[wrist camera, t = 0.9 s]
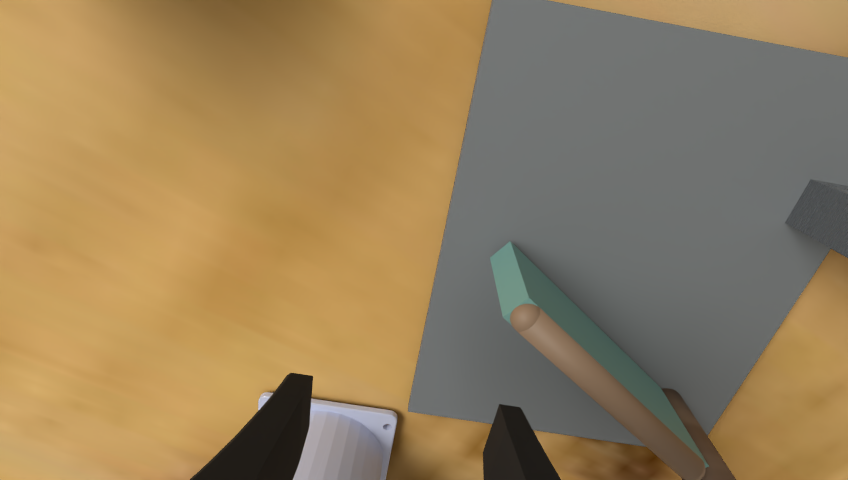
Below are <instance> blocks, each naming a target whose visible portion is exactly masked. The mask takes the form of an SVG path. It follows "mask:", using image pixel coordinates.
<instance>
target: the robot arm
mask: <svg viewBox="0 0 848 480" xmlns="http://www.w3.org/2000/svg"><path fill="white" fill-rule="evenodd" d="M312 381H313V376H309V375H303V374H296V373H290V374H289V375H287V376H286V378H285V379H284V380H283V382H282V383H281V384H280V386H279V387H278V388H277V389H276V391H275V392H274V393H271V392H265V393H263V394H262V395H261V396H260V398H259V401H258V412H257V413H256V414H255V415H254V416H253V418H252V419H251V420H250V421H249V422H248V423H247V424H246V425H245V426H244V427H243V428H242V430H241V431H240V432H239V433H238V434H237V435H236V436H235V437H234V438H233V439H232V440H231V441H230V442H229V443H228V444H227V445H226V446H225V447H224V448H223V449H222V450H221V451H220V452H219V453H218V454H217V455H216V456H215V457H214V458H213V459H212V460H211V461H210V462H209V463H208V464H206V465H205V466H204V467H203V468H202V469H201V470H200V471H199V472H198V473H197V474H196V475H194V476H193V477H192V478H191V479H190V480H386V475H387V470H388V465H389V460H390V455H391V450H392V445H393V440H394V435H395V429H396V424H397V414H396V413H395V412H394V411H391V410H385V409H379V408H372V407H365V406H358V405H352V404H345V403H338V402H331V401H325V400H318V399H311V396H312ZM386 424H389V425H386ZM483 469H484V480H561V479H560V477H559V476H558V474H557V472H556V471H555V469H554V467H553V466H552V464H551V462H550V460H549V459H548V457H547V455H546V453H545V452H544V450H543V448H542V446H541V444H540V443H539V441H538V439H537V437H536V435H535V433H534V431H533V430H532V428H531V426H530V424H529V422H528V420H527V418H526V416H525V414H524V412H523V410H522V409H521V408H520V407H516V406H509V405H502V404H499V406H498V409H497V412H496V415H495V418H494V421H493V424H492V427H491V430H490V433H489V436H488V439H487V442H486V445H485V448H484V451H483Z"/></svg>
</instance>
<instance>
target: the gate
mask: <svg viewBox="0 0 848 480" xmlns="http://www.w3.org/2000/svg"><path fill="white" fill-rule="evenodd" d="M490 260H491V265H492V270H493V274H494V279H495V283H496V288H497V293H498V297H499V302H500V306H501V311H502V316H503V318H504V319H505V320H506V321H508V322H509V323H510V324H511V325H512V327H513V328H514V329H515V330H516V331H517V332H518V333H519V334H520V335H522V336H523V337H524V338H525V339H526V340H527V341H528V342H529V343H531V344H532V345H533V346H534V347H535V348H536V349H537V350H538V351H540V352H541V353H542V354H543V355H544V356H545V357H546V358H547V359H549V360H550V361H551V362H552V363H553V364H554V365H555V366H556V367H558V368H559V369H560V370H561V371H562V372H563V373H564V374H565V375H567V376H568V377H569V378H570V379H571V380H572V381H573V382H574V383H576V384H577V385H578V386H579V387H580V388H581V389H582V390H583V391H585V392H586V393H587V394H588V395H589V396H590V397H591V398H592V399H594V400H595V401H596V402H597V403H598V404H599V405H600V406H601V407H603V408H604V409H605V410H606V411H607V412H608V413H609V414H610V415H612V416H613V417H614V418H615V419H616V420H617V421H618V422H619V423H621V424H622V425H623V426H624V427H625V428H626V429H627V430H628V431H629V432H631V433H632V434H633V435H634V436H635V437H636V438H637V439H638V440H640V441H641V442H642V443H643V444H644V445H645V446H646V447H647V448H649V449H650V450H651V451H652V452H653V453H654V454H655V455H656V456H658V457H659V458H660V459H661V460H662V461H663V462H664V463H665V464H667V465H668V466H669V467H670V468H671V469H672V470H673V471H674V472H676V473H677V474H678V475H679V476H680V477H681V478H683V479H685V480H701V479H702V478H703V477H704V475H705V471H706V468H707V467H709V465H708V464H707V462H706V460H705V459H704V457H703V455H702V454H701V452H700V451H699V449H698V447H697V446H696V444H695V442H694V441H693V439H692V438H691V436H690V434H689V433H688V431H687V429H686V428H685V426H684V425H683V423H682V421H681V420H680V418H679V416H678V415H677V413H676V412H675V410H674V408H673V407H672V405H671V404H670V402H669V400H668V399H667V397H666V395H665V394H664V392H663V391H662V389H661V388H660V387H659V386H658V385H657V384H656V383H655V382H654V381H653V380H652V379H651V378H650V377H649V376H648V375H647V374H646V373H645V372H644V371H643V370H642V369H641V368H640V367H639V366H638V365H637V364H636V363H635V362H634V361H633V360H632V359H631V358H630V357H629V356H628V355H627V354H626V353H625V352H624V351H623V350H621V349H620V348H619V347H618V346H617V345H616V344H615V343H614V342H613V341H612V340H611V339H610V338H609V337H608V336H607V335H606V334H605V333H604V332H603V331H602V330H601V329H600V328H599V327H598V326H597V325H596V324H595V323H594V322H593V321H592V320H591V319H590V318H589V317H588V316H587V315H586V314H585V313H584V312H583V311H581V310H580V309H579V308H578V307H577V306H576V305H575V304H574V303H573V302H572V301H571V300H570V299H569V298H568V297H567V296H566V295H565V294H564V293H563V292H562V291H561V290H560V289H559V288H558V287H557V286H556V285H555V284H554V283H553V282H552V281H551V280H550V279H549V278H548V277H547V276H546V275H545V274H544V273H542V272H541V271H540V270H539V269H538V268H537V267H536V266H535V265H534V264H533V263H532V262H531V261H530V260H529V259H528V258H527V257H526V256H525V255H524V254H523V253H522V252H521V251H520V250H519V249H518V248H517V247H516V246H515V245H514V244H513V243H512V242H511V241H510V242H508V243H507V244H506V245H505V246H504V247H502V248H501V249H500V250H499V251H498V252H496V253H495V254H494V255H493V256H491V257H490Z"/></svg>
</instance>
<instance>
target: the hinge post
mask: <svg viewBox="0 0 848 480" xmlns="http://www.w3.org/2000/svg"><path fill="white" fill-rule="evenodd" d="M662 391H663V392H664V394H665V395H666V397H667V399H668V400H669V402H670V404H671V405H672V407H673V408H674V410H675V412H676V413H677V415H678V416H679V418H680V420H681V421H682V423H683V425H684V426H685V428H686V429H687V431H688V433H689V434H690V436H691V438H692V439H693V441H694V442H695V444H696V446H697V447H698V449H699V451H700V452H701V454H702V455H703V457H704V459H705V460H706V462H707V464H708V465H709V467H707V468H706V471H705V475H704V477H703V478H702V479H701V480H736V479H735V477H734V476H733V474H732V473H731V471H730V470H729V468H728V467H727V465H726V464H725V462H724V461H723V459H722V458H721V456H720V454H719V453H718V451H717V450H716V448H715V447H714V445H713V444H712V442H711V441H710V439H709V438H708V436H707V435H706V433H705V432H704V430H703V429H702V427H701V426H700V424H699V423H698V421H697V420H696V418H695V416H694V415H693V413H692V412H691V410H690V409H689V407H688V406H687V404H686V403H685V401H684V400H683V398H682V397H681V395H680V394H679V393H678V392H677V391H676V390H673V389H669V388H663V389H662ZM682 480H685V479H683V478H682Z"/></svg>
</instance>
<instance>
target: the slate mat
mask: <svg viewBox="0 0 848 480" xmlns="http://www.w3.org/2000/svg"><path fill="white" fill-rule="evenodd" d="M810 179H812V180H818V181H824V182H829V183H835V184H840V185H846V186H848V58H847V57H841V56H836V55H831V54H826V53H820V52H815V51H810V50H805V49H799V48H794V47H789V46H784V45H778V44H773V43H768V42H763V41H757V40H752V39H747V38H742V37H736V36H731V35H726V34H721V33H715V32H710V31H705V30H700V29H694V28H689V27H684V26H679V25H674V24H668V23H663V22H658V21H653V20H647V19H642V18H637V17H632V16H626V15H621V14H616V13H611V12H605V11H600V10H595V9H590V8H584V7H579V6H574V5H569V4H563V3H558V2H553V1H548V0H492V3H491V8H490V13H489V18H488V23H487V28H486V32H485V37H484V42H483V47H482V52H481V57H480V61H479V66H478V71H477V76H476V81H475V86H474V90H473V95H472V100H471V105H470V110H469V114H468V119H467V124H466V129H465V134H464V139H463V143H462V148H461V153H460V158H459V163H458V168H457V172H456V177H455V182H454V187H453V192H452V197H451V201H450V206H449V211H448V216H447V221H446V226H445V230H444V235H443V240H442V245H441V250H440V255H439V259H438V264H437V269H436V274H435V279H434V284H433V288H432V293H431V298H430V303H429V308H428V313H427V317H426V322H425V327H424V332H423V337H422V342H421V346H420V351H419V356H418V361H417V366H416V371H415V375H414V380H413V385H412V390H411V395H410V400H409V406H408V412H415V413H422V414H429V415H435V416H442V417H449V418H456V419H462V420H469V421H476V422H483V423H489V424H493V421H494V418H495V415H496V412H497V409H498V406H499V404H502V405H509V406H516V407H520V408H521V409H522V410H523V412H524V414H525V416H526V418H527V420H528V422H529V424H530V426H531V428H532V430H537V431H543V432H550V433H557V434H564V435H570V436H577V437H584V438H591V439H597V440H604V441H611V442H618V443H625V444H631V445H638V446H645V445H644V444H643V443H642V442H641V441H640V440H638V439H637V438H636V437H635V436H634V435H633V434H632V433H631V432H629V431H628V430H627V429H626V428H625V427H624V426H623V425H622V424H621V423H619V422H618V421H617V420H616V419H615V418H614V417H613V416H612V415H610V414H609V413H608V412H607V411H606V410H605V409H604V408H603V407H601V406H600V405H599V404H598V403H597V402H596V401H595V400H594V399H592V398H591V397H590V396H589V395H588V394H587V393H586V392H585V391H583V390H582V389H581V388H580V387H579V386H578V385H577V384H576V383H574V382H573V381H572V380H571V379H570V378H569V377H568V376H567V375H565V374H564V373H563V372H562V371H561V370H560V369H559V368H558V367H556V366H555V365H554V364H553V363H552V362H551V361H550V360H549V359H547V358H546V357H545V356H544V355H543V354H542V353H541V352H540V351H538V350H537V349H536V348H535V347H534V346H533V345H532V344H531V343H529V342H528V341H527V340H526V339H525V338H524V337H523V336H522V335H520V334H519V333H518V332H517V331H516V330H515V329H514V328H513V327H512V325H511V324H510V323H509V322H508V321H506V320H505V319H504V318H503V316H502V311H501V306H500V302H499V297H498V293H497V288H496V283H495V279H494V274H493V270H492V265H491V260H490V257H491V256H493V255H494V254H495V253H496V252H498V251H499V250H500V249H501V248H502V247H504V246H505V245H506V244H507V243H508V242H510V241H511V242H512V243H513V244H514V245H515V246H516V247H517V248H518V249H519V250H520V251H521V252H522V253H523V254H524V255H525V256H526V257H527V258H528V259H529V260H530V261H531V262H532V263H533V264H534V265H535V266H536V267H537V268H538V269H539V270H540V271H541V272H542V273H544V274H545V275H546V276H547V277H548V278H549V279H550V280H551V281H552V282H553V283H554V284H555V285H556V286H557V287H558V288H559V289H560V290H561V291H562V292H563V293H564V294H565V295H566V296H567V297H568V298H569V299H570V300H571V301H572V302H573V303H574V304H575V305H576V306H577V307H578V308H579V309H580V310H581V311H583V312H584V313H585V314H586V315H587V316H588V317H589V318H590V319H591V320H592V321H593V322H594V323H595V324H596V325H597V326H598V327H599V328H600V329H601V330H602V331H603V332H604V333H605V334H606V335H607V336H608V337H609V338H610V339H611V340H612V341H613V342H614V343H615V344H616V345H617V346H618V347H619V348H620V349H621V350H623V351H624V352H625V353H626V354H627V355H628V356H629V357H630V358H631V359H632V360H633V361H634V362H635V363H636V364H637V365H638V366H639V367H640V368H641V369H642V370H643V371H644V372H645V373H646V374H647V375H648V376H649V377H650V378H651V379H652V380H653V381H654V382H655V383H656V384H657V385H658V386H659V387H660V388H661V389H663V388H669V389H673V390H676V391H677V392H678V393H679V394H680V395H681V397H682V398H683V400H684V401H685V403H686V404H687V406H688V407H689V409H690V410H691V412H692V413H693V415H694V416H695V418H696V420H697V421H698V423H699V424H700V426H701V427H702V429H703V430H704V432H705V433H706V435H707V436H708V434H709V433H710V431H711V430H712V428H713V427H714V425H715V424H716V422H717V421H718V419H719V418H720V416H721V415H722V413H723V411H724V410H725V408H726V407H727V405H728V404H729V402H730V401H731V399H732V398H733V396H734V395H735V393H736V392H737V390H738V389H739V387H740V386H741V384H742V383H743V381H744V380H745V378H746V377H747V375H748V374H749V372H750V371H751V369H752V367H753V366H754V364H755V363H756V361H757V360H758V358H759V357H760V355H761V354H762V352H763V351H764V349H765V348H766V346H767V345H768V343H769V342H770V340H771V339H772V337H773V336H774V334H775V333H776V331H777V330H778V328H779V327H780V325H781V324H782V322H783V320H784V319H785V317H786V316H787V314H788V313H789V311H790V310H791V308H792V307H793V305H794V304H795V302H796V301H797V299H798V298H799V296H800V295H801V293H802V292H803V290H804V289H805V287H806V286H807V284H808V283H809V281H810V280H811V278H812V276H813V275H814V273H815V272H816V270H817V269H818V267H819V266H820V264H821V263H822V261H823V260H824V258H825V257H826V255H827V254H828V252H829V251H830V249H831V248H829V247H827V246H826V245H824V244H822V243H820V242H818V241H817V240H815V239H813V238H811V237H809V236H808V235H806V234H804V233H802V232H801V231H799V230H797V229H795V228H793V227H792V226H790V225H788V224H786V223H785V222H786V220H787V218H788V217H789V215H790V213H791V211H792V210H793V208H794V206H795V205H796V203H797V201H798V200H799V198H800V196H801V194H802V193H803V191H804V189H805V188H806V186H807V184H808V183H809V181H810ZM645 447H646V446H645Z"/></svg>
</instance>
